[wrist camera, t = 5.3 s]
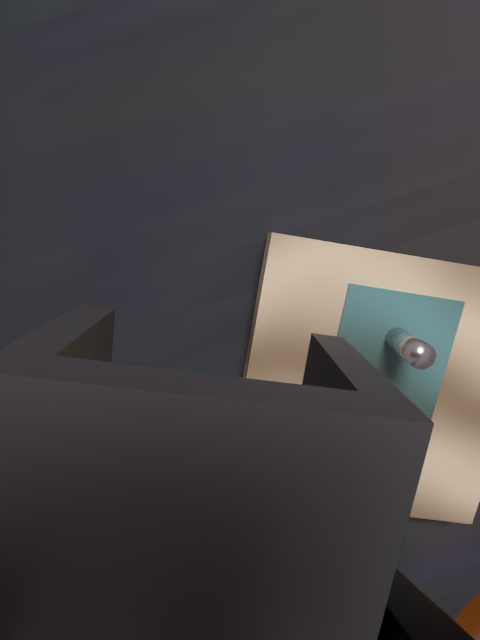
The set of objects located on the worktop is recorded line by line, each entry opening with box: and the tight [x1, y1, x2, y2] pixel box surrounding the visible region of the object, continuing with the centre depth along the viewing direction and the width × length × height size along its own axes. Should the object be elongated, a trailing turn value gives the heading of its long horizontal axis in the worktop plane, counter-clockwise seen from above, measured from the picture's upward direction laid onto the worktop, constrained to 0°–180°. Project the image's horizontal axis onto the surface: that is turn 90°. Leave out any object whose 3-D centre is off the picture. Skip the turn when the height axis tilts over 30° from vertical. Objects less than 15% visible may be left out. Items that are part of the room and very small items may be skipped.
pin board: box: [243, 232, 480, 524], centre depth 18 cm, size 12×12×4 cm
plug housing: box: [0, 304, 434, 640], centre depth 8 cm, size 8×6×4 cm
